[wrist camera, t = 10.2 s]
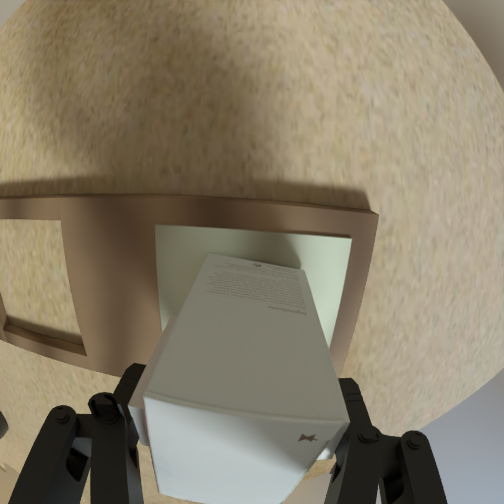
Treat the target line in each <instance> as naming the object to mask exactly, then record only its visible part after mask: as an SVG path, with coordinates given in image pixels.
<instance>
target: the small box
mask: <svg viewBox="0 0 504 504" xmlns="http://www.w3.org/2000/svg"><path fill="white" fill-rule="evenodd" d="M142 399H143V407H144V416H145V423H146V429H147V435H148V442H149V447H150V452H151V458H152V463H153V468H154V473H155V478H156V483H157V487H158V492H159V493H161V494H164V495H168V496H171V497H175V498H179V499H184V500H189V501H194V502H199V503H205V504H282V503H283V502H284V500H285V499H286V498H287V497H288V495H289V494H290V493H291V492H292V491H293V489H294V488H295V487H296V485H297V484H298V483H299V482H300V481H301V479H302V478H303V477H304V476H305V474H306V473H307V472H308V470H309V469H310V468H311V466H312V465H313V464H314V463H315V461H316V460H317V459H318V457H319V456H320V455H321V453H322V452H323V451H324V449H325V448H326V447H327V445H328V444H329V443H330V442H331V440H332V439H334V437H335V436H336V435H337V433H338V432H339V430H340V429H341V428H342V427H343V425H344V424H345V422H346V419H345V415H344V411H343V408H342V404H341V400H340V395H339V391H338V388H337V384H336V380H335V376H334V372H333V368H332V365H331V361H330V356H329V353H328V349H327V345H326V342H325V338H324V334H323V331H322V327H321V323H320V320H319V316H318V312H317V309H316V306H315V303H314V299H313V296H312V292H311V289H310V286H309V283H308V279H307V276H306V273H305V271H304V270H300V269H294V268H288V267H283V266H277V265H272V264H267V263H261V262H256V261H250V260H245V259H239V258H234V257H229V256H223V255H218V254H213V253H208V254H207V255H206V257H205V259H204V261H203V263H202V265H201V267H200V269H199V271H198V273H197V275H196V277H195V279H194V281H193V283H192V285H191V288H190V290H189V292H188V294H187V296H186V298H185V300H184V302H183V304H182V306H181V308H180V311H179V313H178V315H177V317H176V319H175V321H174V323H173V325H172V328H171V330H170V332H169V334H168V336H167V339H166V341H165V343H164V345H163V347H162V350H161V352H160V354H159V356H158V358H157V361H156V363H155V365H154V367H153V369H152V372H151V374H150V376H149V378H148V381H147V383H146V385H145V387H144V389H143V391H142Z"/></svg>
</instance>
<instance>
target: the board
mask: <svg viewBox="0 0 504 504" xmlns="http://www.w3.org/2000/svg"><path fill="white" fill-rule="evenodd" d="M378 218H379V215H378V214H377V213H375V212H373V211H371V210H362V209H354V208H345V207H336V206H326V205H316V204H305V203H294V202H282V201H270V200H256V199H241V198H224V197H204V196H180V195H143V194H70V195H36V196H15V197H0V219H30V220H61V226H62V236H63V244H64V252H65V259H66V265H67V272H68V277H69V283H70V288H71V293H72V298H73V303H74V308H75V312H76V316H77V321H78V325H79V329H80V332H81V336H82V340H83V344H84V346H82V345H78V344H74V343H70V342H67V341H63V340H59V339H56V338H52V337H49V336H45V335H42V334H38V333H35V332H32V331H29V330H26V329H23V328H20V327H17V326H14V325H11V324H9V321H8V318H7V315H6V312H5V308H4V305H3V302H2V298H1V294H0V340H3V341H5V342H7V343H10V344H12V345H15V346H18V347H20V348H23V349H26V350H28V351H31V352H34V353H37V354H40V355H42V356H45V357H48V358H52V359H55V360H58V361H61V362H64V363H68V364H71V365H74V366H78V367H81V368H85V369H89V370H93V371H96V372H100V373H104V374H109V375H113V376H117V377H122V376H123V374H124V372H125V370H126V369H127V368H128V367H129V366H131V365H132V364H133V363H138V364H144V365H147V363H148V361H149V359H150V357H151V355H152V353H153V351H154V349H155V347H156V345H157V343H158V341H159V339H160V337H161V335H162V333H163V331H164V329H165V327H166V325H167V323H168V321H169V319H170V317H171V316H177V315H178V313H179V311H180V308H181V306H182V304H183V302H184V300H185V298H186V296H187V294H188V292H189V290H190V288H191V285H192V283H193V281H194V279H195V277H196V275H197V273H198V271H199V269H200V267H201V265H202V263H203V261H204V259H205V257H206V255H207V254H208V253H213V254H218V255H223V256H229V257H234V258H239V259H245V260H250V261H256V262H261V263H267V264H272V265H277V266H283V267H288V268H294V269H300V270H304V271H305V273H306V276H307V279H308V283H309V286H310V289H311V292H312V296H313V299H314V303H315V306H316V309H317V312H318V316H319V320H320V323H321V327H322V329H323V332H324V335H325V339H326V342H327V345H328V348H329V351H330V355H331V358H332V361H333V364H334V368H335V371H336V374H337V378H340V376H341V373H342V370H343V367H344V363H345V360H346V357H347V354H348V350H349V347H350V343H351V340H352V336H353V333H354V329H355V326H356V322H357V318H358V314H359V310H360V306H361V302H362V298H363V294H364V290H365V285H366V281H367V276H368V272H369V267H370V262H371V257H372V252H373V247H374V241H375V236H376V230H377V224H378Z"/></svg>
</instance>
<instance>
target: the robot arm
mask: <svg viewBox="0 0 504 504" xmlns="http://www.w3.org/2000/svg"><path fill="white" fill-rule="evenodd" d="M176 317H177V316H171V317H170V319H169V321H168V323H167V325H166V327H165V329H164V331H163V333H162V335H161V337H160V339H159V341H158V343H157V345H156V347H155V349H154V351H153V353H152V355H151V357H150V359H149V361H148V363H147V365H144V364H138V363H133V364H132V365H131V366H129V367H128V368H127V369H126V370H125V372H124V374H123V376H122V378H121V380H120V382H119V384H118V385H117V387H116V389H115V391H114V393H113V394H112V393H107V392H102V393H98V394H95V395H93V396H92V397H91V398H90V399H89V402H88V406H89V408H90V411H91V413H92V414H76V412H75V411H74V410H73V409H72V408H71V407H69V406H66V405H60V406H56V407H55V408H53V409H52V410H51V411H50V412H49V414H48V416H47V418H46V420H45V422H44V424H43V426H42V428H41V430H40V432H39V434H38V436H37V438H36V440H35V442H34V444H33V446H32V448H31V450H30V453H29V455H28V457H27V459H26V461H25V464H24V466H23V468H22V470H21V473H20V475H19V478H18V480H17V482H16V485H15V488H14V490H13V492H12V495H11V498H10V500H9V503H8V504H80V501H81V497H82V493H83V490H84V487H85V483H86V480H87V477H88V473H89V470H90V467H91V470H90V496H91V504H144V501H143V494H142V486H141V477H140V467H139V456H138V449H137V446H136V445H137V443H138V440H139V439H140V442H141V445H146V446H149V442H148V435H147V429H146V423H145V416H144V407H143V399H142V391H143V389H144V387H145V385H146V383H147V381H148V378H149V376H150V374H151V372H152V369H153V367H154V365H155V363H156V361H157V358H158V356H159V354H160V352H161V350H162V347H163V345H164V343H165V341H166V339H167V336H168V334H169V332H170V330H171V328H172V325H173V323H174V321H175V319H176ZM322 331H323V329H322ZM323 334H324V332H323ZM324 338H325V335H324ZM325 342H326V339H325ZM326 345H327V342H326ZM327 349H328V353H329V356H330V361H331V365H332V368H333V372H334V376H335V380H336V384H337V388H338V391H339V395H340V400H341V404H342V408H343V411H344V415H345V419H346V422H345V424H344V425H343V427H342V428H341V429H340V430H339V432H338V433H337V435H336V436H335V437H334V439H332V440H331V442H330V443H329V444H328V445H327V447H326V448H325V449H324V451H323V452H322V453H321V455H320V456H319V457H318V459H317V460H321V459H332V457H333V455H334V453H335V454H336V460H337V461H336V463H335V464H334V466H333V468H332V469H331V471H330V474H332V476H331V480H330V484H329V488H328V491H327V495H326V498H325V502H324V504H376V497H377V490H378V483H379V489H380V496H381V502H382V504H447V500H446V496H445V493H444V489H443V485H442V482H441V478H440V475H439V472H438V468H437V465H436V462H435V459H434V456H433V453H432V450H431V447H430V444H429V441H428V439H427V437H426V436H425V435H424V434H423V433H421V432H419V431H412V430H411V431H408V432H406V433H404V434H403V435H402V437H395V436H388V435H384V434H382V433H381V432H380V430H379V429H377V428H376V427H374V426H373V425H372V423H371V420H370V418H369V415H368V412H367V409H366V406H365V403H364V401H363V397H362V395H361V392H360V389H359V386H358V384H357V383H356V382H355V381H354V380H353V379H352V378H337V374H336V371H335V368H334V364H333V361H332V358H331V355H330V351H329V348H328V345H327ZM7 431H8V425H7V423H6V421H5V419H4V417H3V416H2V414H1V413H0V439H1V438H3V436H4V435H5V434H6V432H7Z"/></svg>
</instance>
